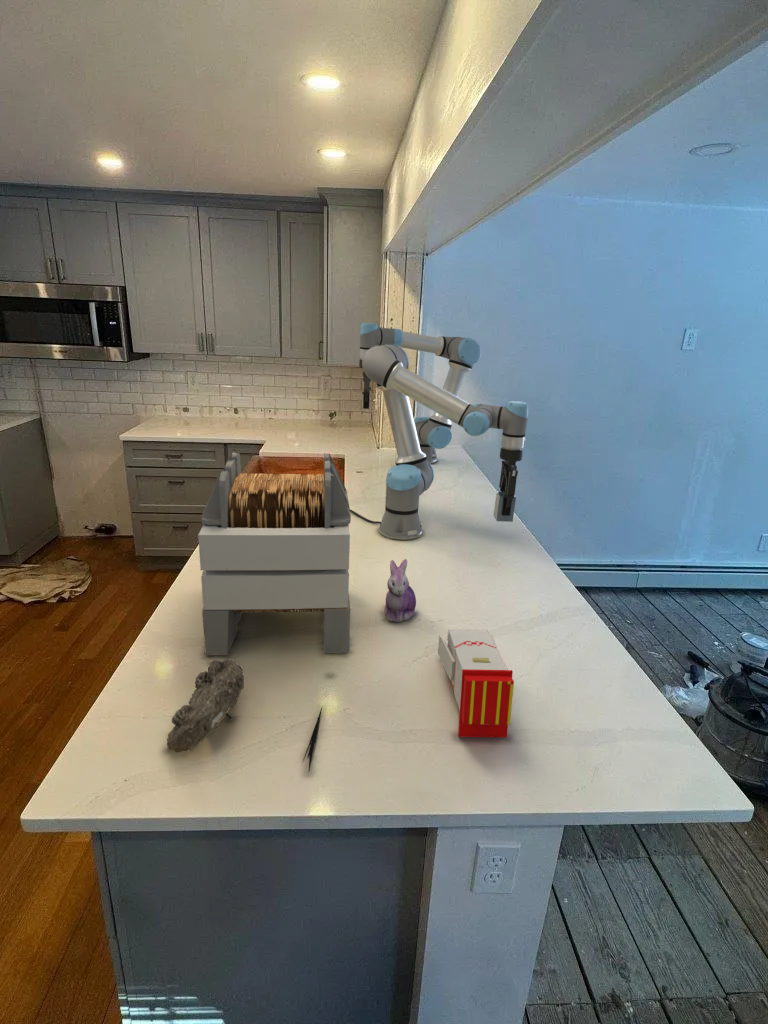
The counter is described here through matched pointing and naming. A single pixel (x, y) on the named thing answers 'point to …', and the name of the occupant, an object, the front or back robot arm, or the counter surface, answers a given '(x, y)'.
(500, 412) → the front robot arm
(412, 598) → the figurine
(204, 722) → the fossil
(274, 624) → the counter surface
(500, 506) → the brick
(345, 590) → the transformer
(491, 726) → the toy
